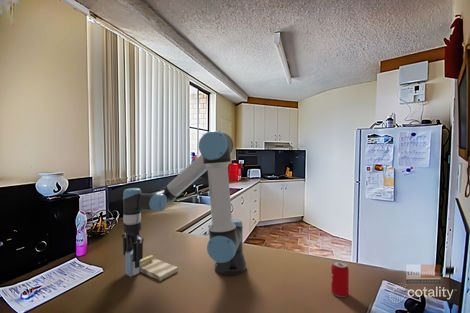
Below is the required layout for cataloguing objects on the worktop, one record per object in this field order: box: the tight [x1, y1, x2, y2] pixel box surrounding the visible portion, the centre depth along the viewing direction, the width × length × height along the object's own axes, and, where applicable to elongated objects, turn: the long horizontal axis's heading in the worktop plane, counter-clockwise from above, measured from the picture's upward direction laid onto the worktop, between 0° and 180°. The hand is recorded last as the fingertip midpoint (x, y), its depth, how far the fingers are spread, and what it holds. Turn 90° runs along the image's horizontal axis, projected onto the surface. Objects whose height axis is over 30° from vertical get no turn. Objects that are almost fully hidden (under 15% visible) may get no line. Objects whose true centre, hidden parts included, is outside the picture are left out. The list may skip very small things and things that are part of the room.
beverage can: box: [330, 260, 350, 298], centre depth 96 cm, size 6×6×12 cm
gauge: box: [124, 249, 155, 278], centre depth 116 cm, size 4×13×10 cm, turn 145°
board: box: [140, 257, 179, 282], centre depth 116 cm, size 20×10×2 cm, turn 55°
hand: (132, 272), depth 113 cm, fingers closed on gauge, 4 cm apart
